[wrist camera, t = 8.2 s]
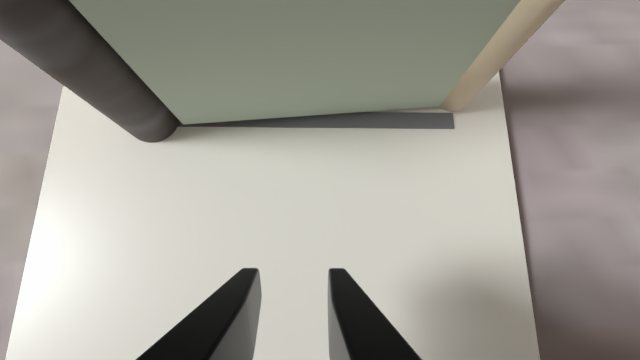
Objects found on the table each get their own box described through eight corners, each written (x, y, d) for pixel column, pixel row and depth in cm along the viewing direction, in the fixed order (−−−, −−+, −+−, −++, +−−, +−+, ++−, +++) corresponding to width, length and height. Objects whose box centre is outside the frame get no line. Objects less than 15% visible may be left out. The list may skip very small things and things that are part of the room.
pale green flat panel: (473, 110, 16) (820, -237, 5) (183, 130, 15) (-135, -200, 4) (466, 75, 16) (769, -311, 5) (183, 94, 16) (-105, -286, 5)
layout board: (535, 380, 14) (544, 384, 13) (10, 381, 14) (-2, 385, 13) (466, -115, 20) (471, -125, 20) (113, -121, 20) (108, -132, 20)
